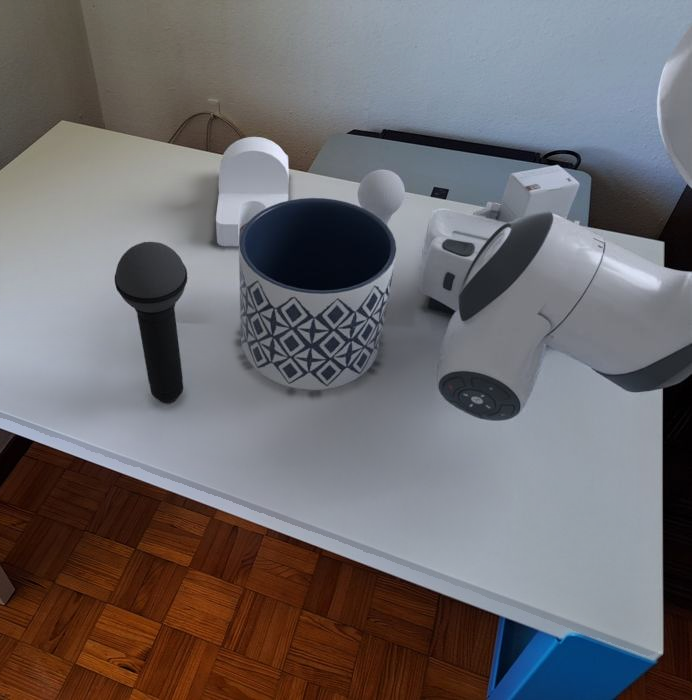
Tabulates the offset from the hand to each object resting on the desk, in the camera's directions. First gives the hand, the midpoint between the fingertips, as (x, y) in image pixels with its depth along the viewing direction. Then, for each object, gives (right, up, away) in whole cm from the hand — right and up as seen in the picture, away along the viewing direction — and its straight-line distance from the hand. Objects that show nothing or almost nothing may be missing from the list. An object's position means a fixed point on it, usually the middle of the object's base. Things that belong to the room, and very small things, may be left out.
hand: (530, 216), depth 77 cm
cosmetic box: (0, -5, +4) cm, 7 cm away
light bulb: (-14, 0, +15) cm, 21 cm away
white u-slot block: (-30, +5, +21) cm, 38 cm away
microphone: (-41, -20, -3) cm, 46 cm away
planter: (-25, -14, +2) cm, 29 cm away
